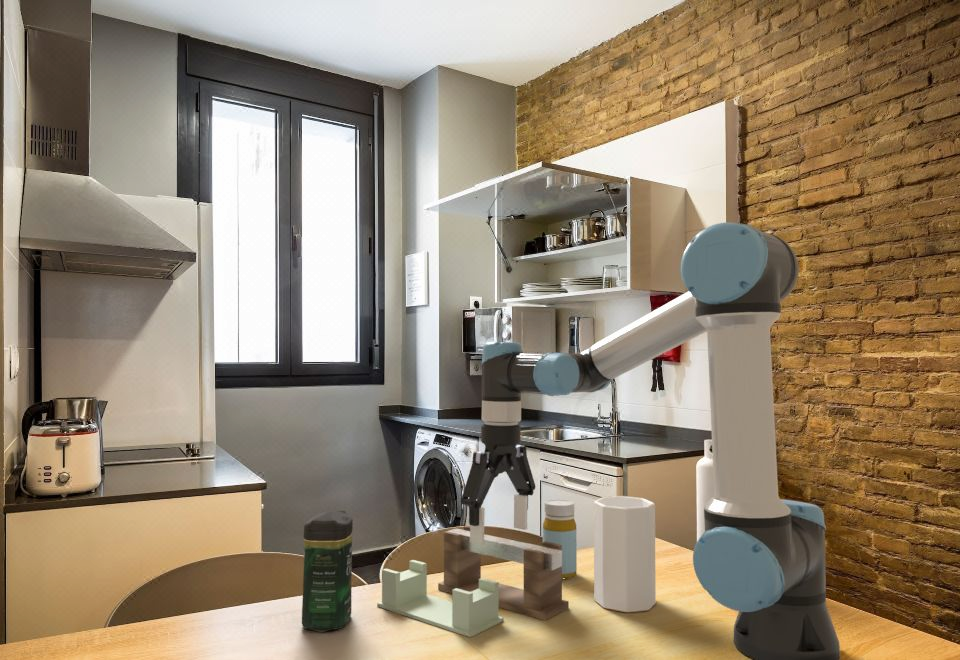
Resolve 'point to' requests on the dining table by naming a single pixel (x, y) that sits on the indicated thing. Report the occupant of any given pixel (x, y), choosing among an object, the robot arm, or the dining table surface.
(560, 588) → the rack
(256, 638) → the dining table surface
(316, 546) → the coffee jar
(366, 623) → the dining table surface
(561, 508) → the bottle
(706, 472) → the bottle
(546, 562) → the rail
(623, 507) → the cup
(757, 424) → the robot arm
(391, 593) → the rest
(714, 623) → the dining table surface
